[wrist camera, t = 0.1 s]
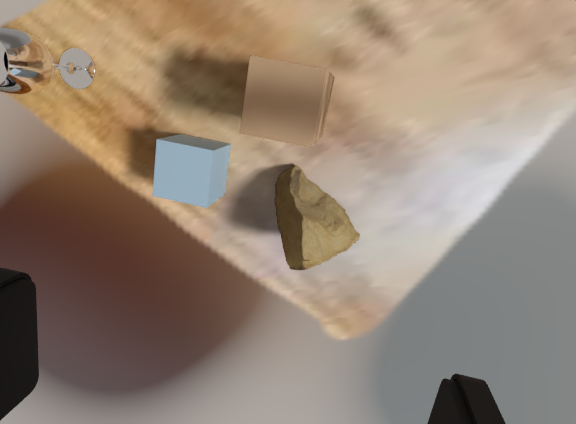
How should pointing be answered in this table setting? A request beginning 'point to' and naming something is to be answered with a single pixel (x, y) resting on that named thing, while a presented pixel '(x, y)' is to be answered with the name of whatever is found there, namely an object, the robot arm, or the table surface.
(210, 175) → the blue block
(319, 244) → the rock
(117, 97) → the table surface
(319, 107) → the tower mid
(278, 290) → the table surface
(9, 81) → the wineglass
